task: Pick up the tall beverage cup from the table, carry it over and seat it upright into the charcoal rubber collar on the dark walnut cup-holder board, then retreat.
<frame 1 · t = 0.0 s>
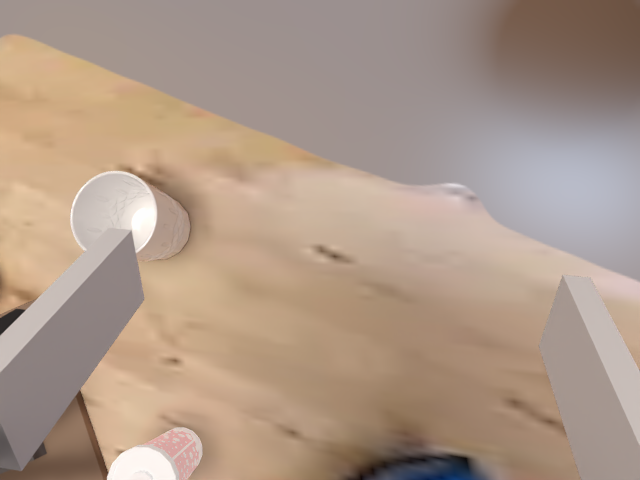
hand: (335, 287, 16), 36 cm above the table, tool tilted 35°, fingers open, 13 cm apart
white cup: (161, 228, 54), on the table
beverage cup: (181, 449, 52), on the table
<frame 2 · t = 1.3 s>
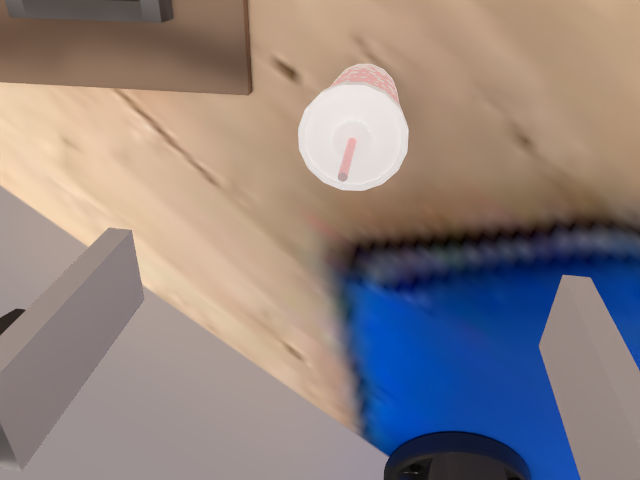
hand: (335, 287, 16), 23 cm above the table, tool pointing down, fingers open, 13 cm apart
beverage cup: (364, 96, 36), on the table
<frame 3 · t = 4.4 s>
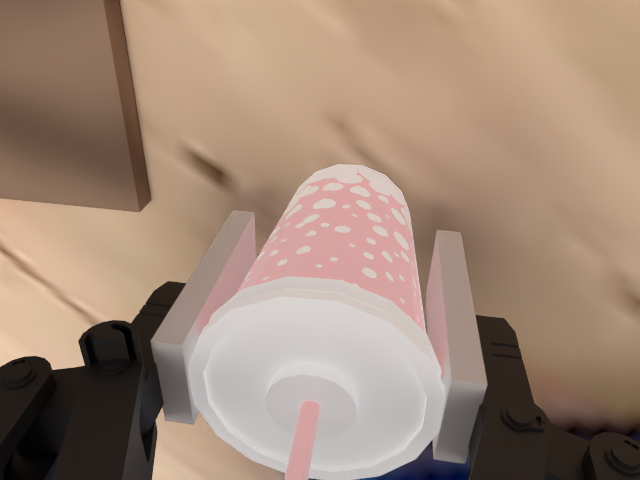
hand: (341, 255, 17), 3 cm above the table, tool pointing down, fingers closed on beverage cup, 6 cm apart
beverage cup: (349, 216, 20), on the table, touching gripper
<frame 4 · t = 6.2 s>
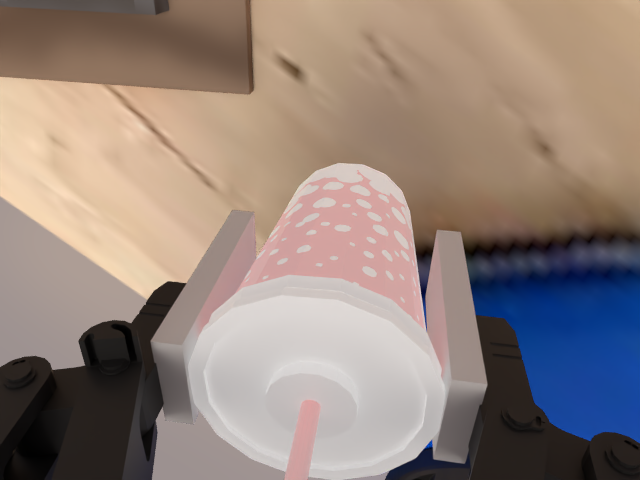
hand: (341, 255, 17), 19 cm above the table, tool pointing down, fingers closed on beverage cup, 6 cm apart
beverage cup: (350, 216, 20), point 16 cm above the table, touching gripper
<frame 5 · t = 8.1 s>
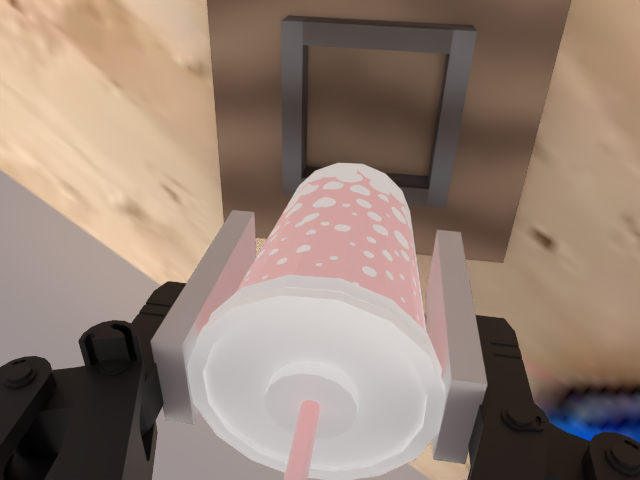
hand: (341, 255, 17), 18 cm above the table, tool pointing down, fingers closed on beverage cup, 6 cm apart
cup holder: (372, 106, 32), on the table
beverage cup: (349, 215, 20), point 15 cm above the table, touching gripper
when the fingers open (5 cm above the table, at t = 11.0 s): beverage cup drops 1 cm, resting on cup holder.
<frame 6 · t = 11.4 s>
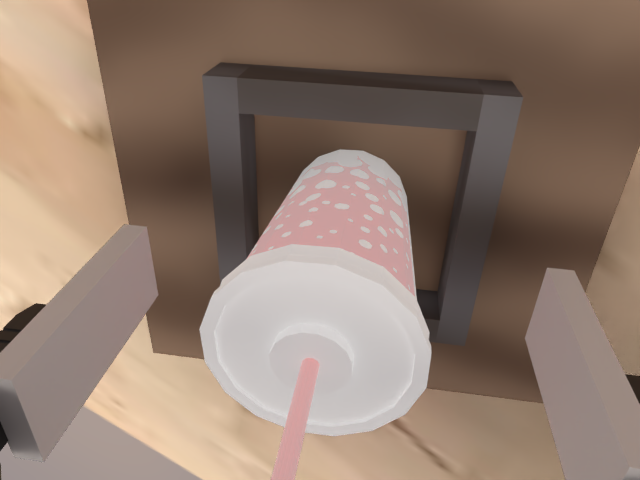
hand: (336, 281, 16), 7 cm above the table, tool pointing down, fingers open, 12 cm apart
cup holder: (354, 191, 22), on the table
beverage cup: (350, 200, 21), point 1 cm above the table, touching cup holder
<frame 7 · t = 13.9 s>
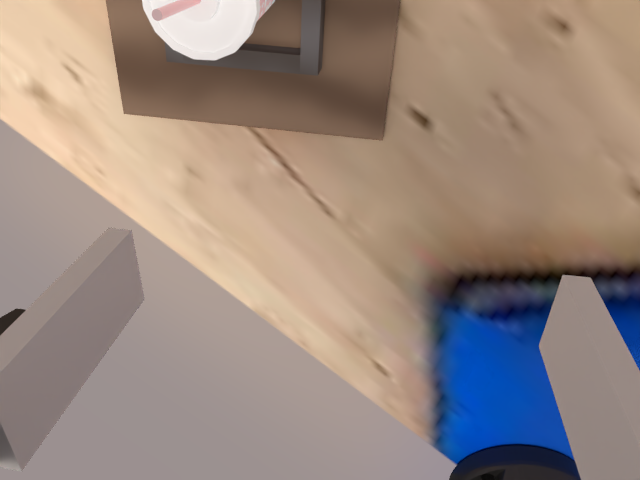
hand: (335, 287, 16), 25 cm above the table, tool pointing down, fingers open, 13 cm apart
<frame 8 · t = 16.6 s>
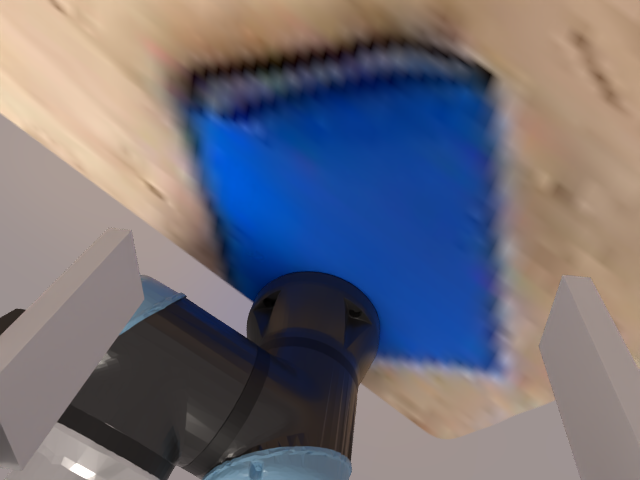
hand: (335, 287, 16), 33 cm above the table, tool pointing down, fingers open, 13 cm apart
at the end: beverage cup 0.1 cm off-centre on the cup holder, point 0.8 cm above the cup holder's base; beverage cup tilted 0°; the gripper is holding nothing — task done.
